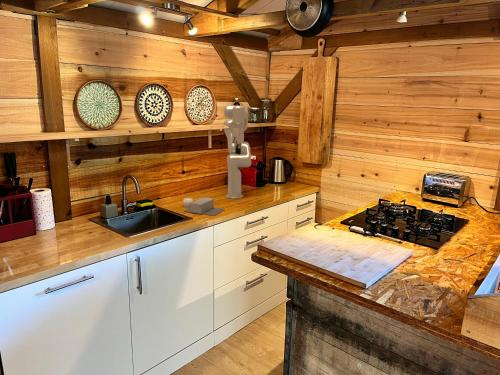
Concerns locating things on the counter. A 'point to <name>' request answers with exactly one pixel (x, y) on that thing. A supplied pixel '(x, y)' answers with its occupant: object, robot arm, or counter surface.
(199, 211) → the skincare box
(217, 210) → the mat
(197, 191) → the counter surface
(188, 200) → the white round piece
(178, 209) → the counter surface
